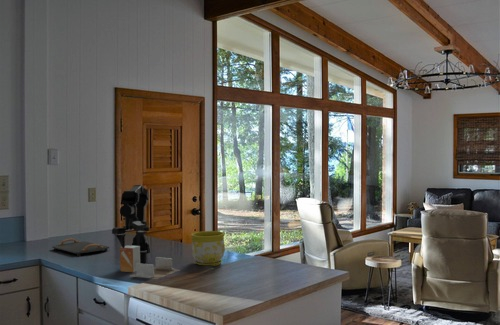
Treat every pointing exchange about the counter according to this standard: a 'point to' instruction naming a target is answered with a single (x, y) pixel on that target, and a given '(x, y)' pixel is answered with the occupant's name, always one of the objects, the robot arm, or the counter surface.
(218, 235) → the flowerpot
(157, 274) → the shelf board
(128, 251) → the small box
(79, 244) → the serving board
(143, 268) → the bookends
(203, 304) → the counter surface
